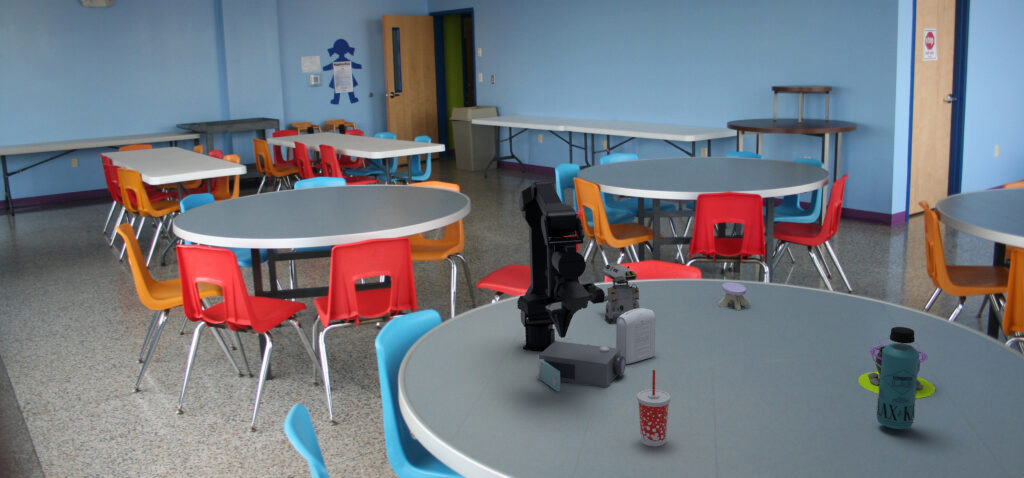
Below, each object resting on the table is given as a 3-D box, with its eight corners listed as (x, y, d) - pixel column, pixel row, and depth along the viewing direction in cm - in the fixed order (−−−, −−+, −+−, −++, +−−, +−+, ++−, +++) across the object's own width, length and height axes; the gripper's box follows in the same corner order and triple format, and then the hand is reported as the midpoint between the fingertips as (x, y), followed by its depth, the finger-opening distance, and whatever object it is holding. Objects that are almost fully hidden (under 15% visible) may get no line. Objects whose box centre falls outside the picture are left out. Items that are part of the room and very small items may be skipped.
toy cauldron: (842, 379, 177) (845, 332, 174) (892, 367, 183) (896, 321, 180) (899, 404, 163) (903, 353, 161) (951, 391, 169) (956, 341, 167)
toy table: (715, 300, 237) (716, 282, 236) (747, 301, 236) (748, 282, 235) (719, 310, 228) (720, 291, 226) (752, 311, 226) (753, 291, 225)
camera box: (539, 378, 183) (538, 352, 181) (555, 362, 192) (555, 338, 190) (614, 388, 175) (614, 362, 174) (627, 372, 184) (627, 346, 183)
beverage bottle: (868, 423, 155) (875, 324, 151) (901, 420, 156) (909, 322, 152) (887, 438, 149) (894, 335, 145) (921, 435, 149) (929, 333, 145)
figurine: (629, 310, 230) (629, 259, 227) (642, 323, 219) (642, 269, 216) (598, 313, 228) (597, 262, 225) (609, 325, 217) (609, 272, 214)
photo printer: (645, 352, 197) (645, 303, 194) (657, 356, 193) (658, 307, 191) (613, 361, 191) (613, 311, 189) (625, 366, 188) (625, 316, 185)
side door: (537, 379, 181) (536, 359, 181) (542, 377, 182) (542, 358, 181) (555, 392, 174) (554, 372, 173) (561, 390, 174) (560, 371, 173)
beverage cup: (662, 451, 147) (663, 379, 144) (631, 443, 150) (631, 373, 147) (674, 437, 152) (675, 367, 149) (644, 430, 155) (644, 362, 152)
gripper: (539, 282, 160) (541, 356, 164) (618, 269, 168) (619, 340, 171) (515, 270, 170) (517, 340, 173) (591, 258, 178) (592, 326, 181)
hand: (562, 337), depth 175 cm, fingers closed
